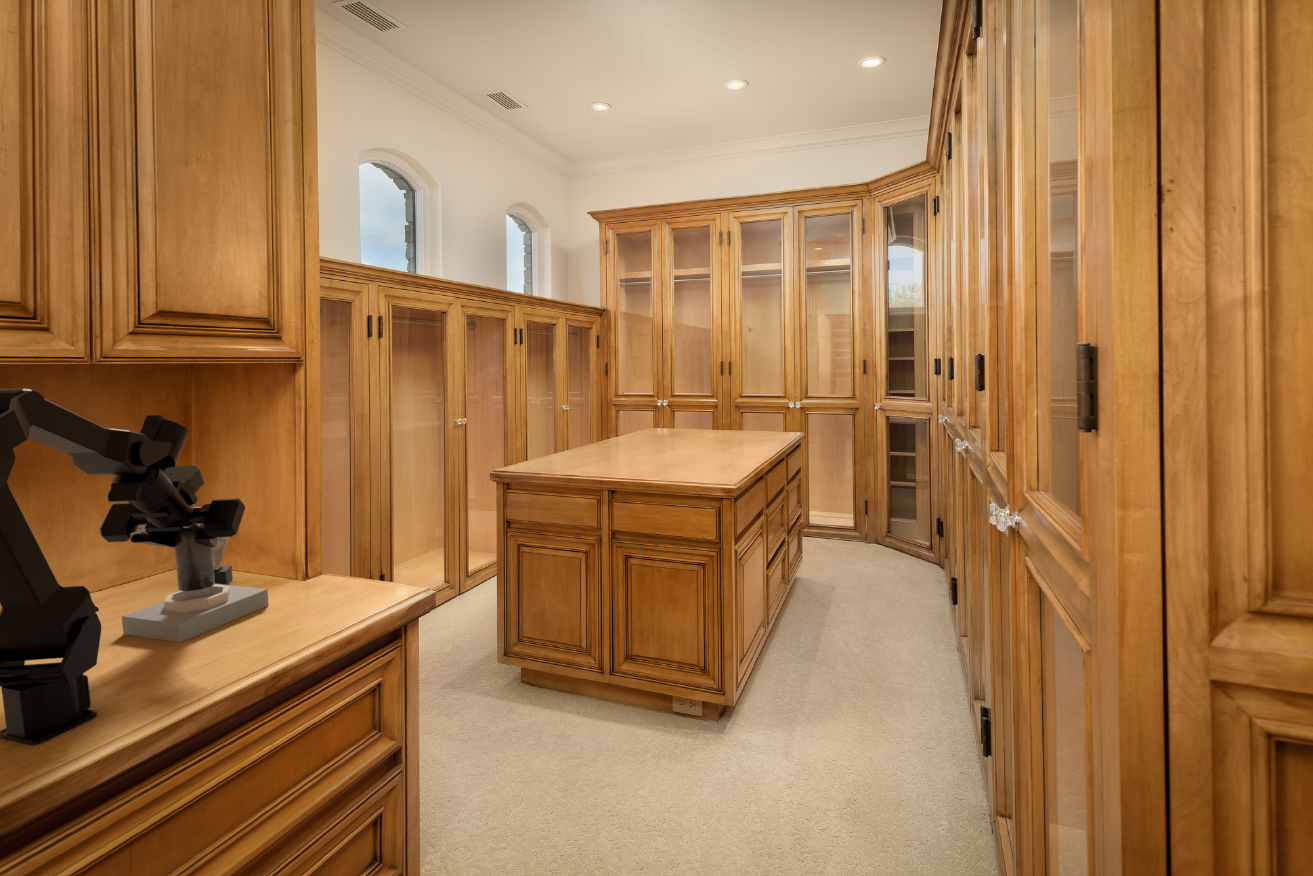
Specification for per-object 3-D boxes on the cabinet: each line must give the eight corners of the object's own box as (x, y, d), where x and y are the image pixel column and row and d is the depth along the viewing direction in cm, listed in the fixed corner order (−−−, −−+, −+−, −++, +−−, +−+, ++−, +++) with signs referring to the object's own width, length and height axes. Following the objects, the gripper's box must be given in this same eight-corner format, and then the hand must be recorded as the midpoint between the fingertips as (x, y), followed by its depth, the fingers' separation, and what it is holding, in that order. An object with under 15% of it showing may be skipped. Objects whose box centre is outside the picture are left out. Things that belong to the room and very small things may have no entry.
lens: (207, 589, 105) (200, 512, 104) (172, 592, 104) (165, 514, 103) (220, 580, 110) (214, 506, 109) (187, 582, 109) (180, 507, 108)
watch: (235, 577, 130) (230, 524, 129) (224, 589, 122) (219, 533, 121) (202, 580, 128) (197, 527, 127) (189, 593, 120) (184, 536, 119)
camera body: (180, 642, 99) (177, 614, 98) (123, 634, 102) (120, 607, 101) (268, 605, 114) (266, 581, 113) (216, 599, 117) (214, 575, 117)
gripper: (235, 449, 102) (270, 503, 114) (104, 453, 99) (154, 508, 111) (213, 508, 95) (253, 558, 107) (72, 513, 92) (129, 565, 104)
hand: (198, 545), depth 108 cm, fingers closed on lens, 5 cm apart
